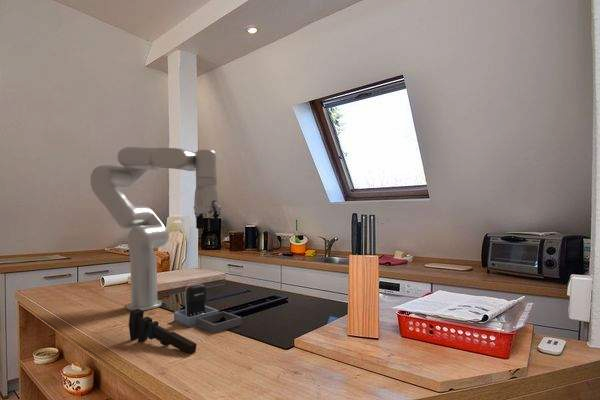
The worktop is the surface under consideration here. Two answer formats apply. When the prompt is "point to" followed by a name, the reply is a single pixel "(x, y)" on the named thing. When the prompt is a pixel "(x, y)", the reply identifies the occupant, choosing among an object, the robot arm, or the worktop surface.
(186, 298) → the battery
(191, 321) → the parts tray
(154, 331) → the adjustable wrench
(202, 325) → the socket frame
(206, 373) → the worktop surface
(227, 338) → the worktop surface
